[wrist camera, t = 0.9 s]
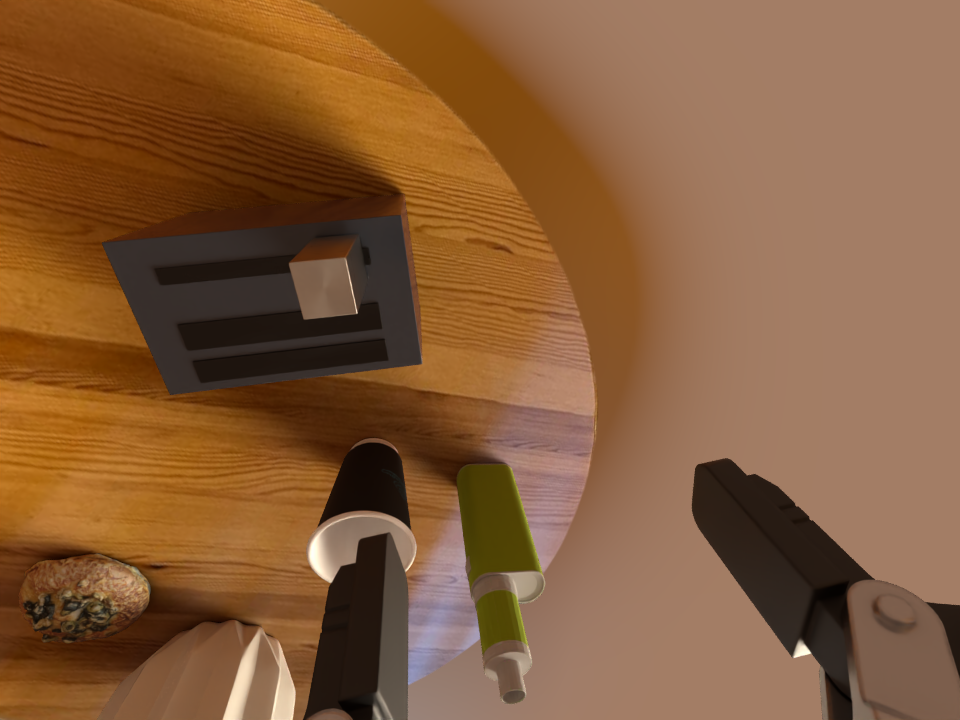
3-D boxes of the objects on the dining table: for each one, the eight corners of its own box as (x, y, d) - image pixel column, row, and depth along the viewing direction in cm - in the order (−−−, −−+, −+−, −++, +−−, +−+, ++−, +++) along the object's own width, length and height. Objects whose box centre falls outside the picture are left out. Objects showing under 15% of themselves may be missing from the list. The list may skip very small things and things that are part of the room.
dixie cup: (430, 441, 43) (435, 532, 33) (393, 499, 45) (388, 599, 35) (351, 411, 40) (331, 500, 30) (317, 474, 43) (289, 575, 33)
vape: (456, 464, 44) (484, 682, 27) (515, 463, 45) (580, 673, 28) (453, 492, 46) (479, 716, 28) (510, 491, 47) (569, 707, 29)
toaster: (404, 193, 33) (400, 214, 24) (420, 309, 37) (422, 365, 28) (189, 212, 31) (99, 243, 22) (230, 330, 35) (169, 396, 26)
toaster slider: (359, 233, 24) (346, 256, 19) (368, 281, 25) (357, 314, 20) (312, 237, 23) (287, 262, 19) (323, 285, 24) (303, 320, 20)
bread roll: (84, 638, 48) (47, 684, 43) (10, 563, 44) (-40, 605, 39) (180, 598, 48) (153, 641, 43) (114, 521, 44) (77, 558, 39)
